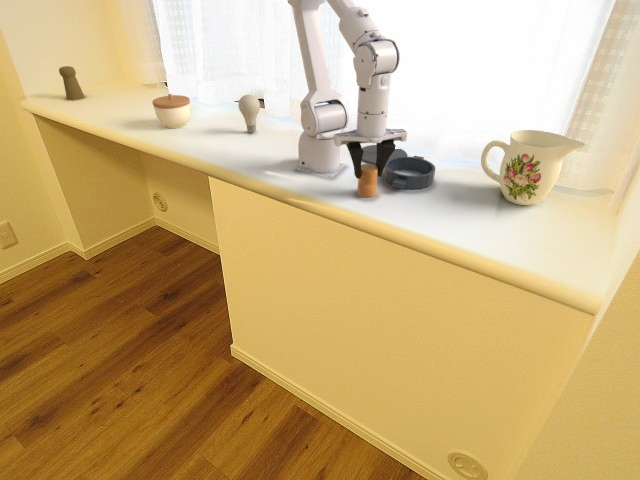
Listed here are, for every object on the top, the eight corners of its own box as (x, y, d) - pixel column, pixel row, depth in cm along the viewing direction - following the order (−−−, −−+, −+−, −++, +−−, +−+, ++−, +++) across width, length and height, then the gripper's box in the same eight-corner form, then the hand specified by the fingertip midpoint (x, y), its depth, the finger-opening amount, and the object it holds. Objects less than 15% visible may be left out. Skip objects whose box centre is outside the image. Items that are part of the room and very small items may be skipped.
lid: (349, 161, 103) (350, 144, 100) (367, 145, 112) (368, 129, 110) (398, 171, 98) (400, 153, 95) (412, 153, 108) (415, 137, 105)
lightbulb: (248, 137, 117) (244, 98, 111) (237, 132, 121) (233, 94, 115) (266, 133, 120) (263, 95, 114) (255, 127, 124) (251, 90, 118)
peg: (354, 197, 87) (356, 169, 83) (361, 190, 90) (363, 162, 86) (371, 201, 85) (374, 172, 82) (378, 193, 88) (381, 165, 85)
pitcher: (483, 176, 96) (498, 118, 88) (567, 199, 86) (591, 137, 78) (465, 193, 88) (479, 132, 81) (554, 220, 79) (579, 153, 71)
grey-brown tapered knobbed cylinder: (88, 97, 153) (78, 66, 147) (72, 100, 149) (62, 69, 143) (78, 95, 156) (69, 64, 150) (63, 98, 151) (52, 67, 145)
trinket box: (157, 132, 121) (150, 100, 115) (157, 121, 129) (151, 91, 124) (194, 128, 123) (189, 97, 118) (192, 118, 132) (187, 88, 127)
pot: (372, 190, 90) (373, 175, 87) (395, 163, 102) (397, 149, 100) (422, 201, 85) (424, 185, 83) (440, 172, 98) (442, 157, 96)
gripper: (340, 118, 73) (338, 186, 81) (416, 114, 75) (407, 180, 83) (332, 107, 79) (330, 172, 86) (402, 103, 81) (395, 167, 89)
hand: (367, 175), depth 85 cm, fingers closed on peg, 4 cm apart
